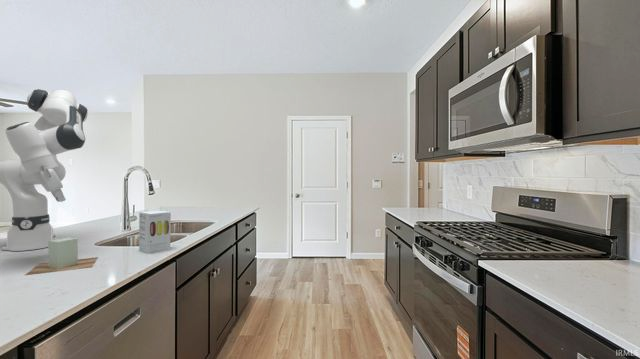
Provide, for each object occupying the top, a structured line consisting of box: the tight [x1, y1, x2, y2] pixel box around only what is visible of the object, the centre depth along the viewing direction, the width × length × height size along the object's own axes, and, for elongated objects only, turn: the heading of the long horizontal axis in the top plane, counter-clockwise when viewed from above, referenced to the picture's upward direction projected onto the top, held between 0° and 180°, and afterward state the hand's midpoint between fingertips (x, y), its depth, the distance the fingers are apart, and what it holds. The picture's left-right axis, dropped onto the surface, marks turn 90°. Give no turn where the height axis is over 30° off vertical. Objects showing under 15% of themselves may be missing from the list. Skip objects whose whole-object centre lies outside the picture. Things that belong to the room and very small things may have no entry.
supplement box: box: [138, 210, 172, 255], centre depth 129 cm, size 10×9×17 cm
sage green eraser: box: [47, 237, 79, 269], centre depth 104 cm, size 5×6×9 cm
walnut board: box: [25, 256, 99, 276], centre depth 104 cm, size 14×17×1 cm
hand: (61, 201), depth 112 cm, fingers open, 8 cm apart
